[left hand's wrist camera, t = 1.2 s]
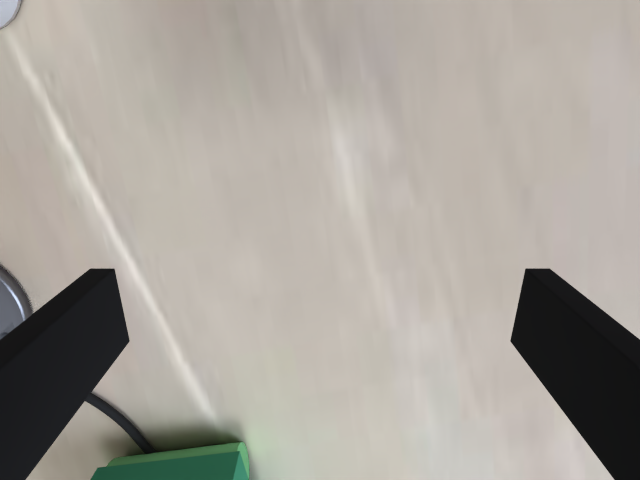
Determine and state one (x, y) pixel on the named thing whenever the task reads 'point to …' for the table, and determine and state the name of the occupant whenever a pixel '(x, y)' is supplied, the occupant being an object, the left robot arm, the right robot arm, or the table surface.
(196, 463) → the toy tank
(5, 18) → the mug
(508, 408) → the table surface
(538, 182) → the table surface
